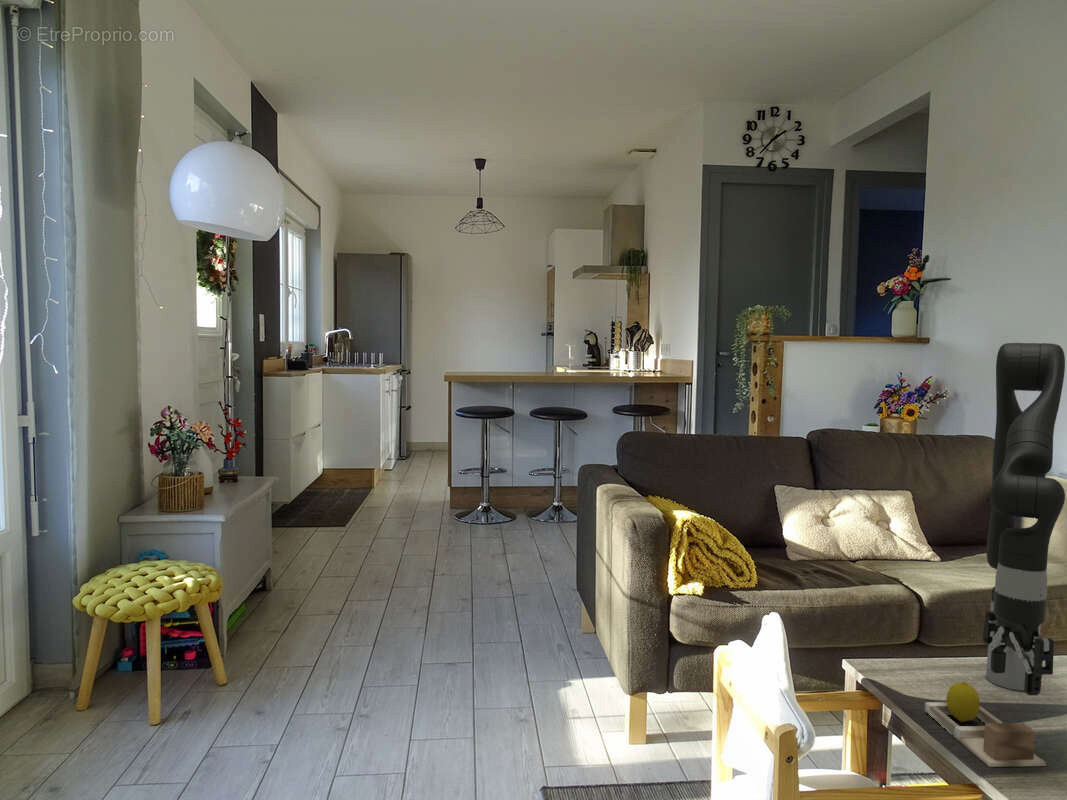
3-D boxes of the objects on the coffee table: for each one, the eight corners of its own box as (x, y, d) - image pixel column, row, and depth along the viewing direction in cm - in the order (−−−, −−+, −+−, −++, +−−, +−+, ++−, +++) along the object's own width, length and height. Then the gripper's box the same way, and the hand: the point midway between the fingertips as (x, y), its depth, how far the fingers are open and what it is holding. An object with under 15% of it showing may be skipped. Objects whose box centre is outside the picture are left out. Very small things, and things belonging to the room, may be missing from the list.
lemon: (982, 731, 144) (985, 689, 144) (950, 727, 145) (953, 686, 145) (972, 717, 150) (974, 677, 149) (941, 713, 151) (943, 674, 150)
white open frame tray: (973, 711, 152) (975, 684, 151) (1045, 765, 132) (1047, 734, 132) (924, 712, 151) (926, 684, 151) (989, 766, 132) (991, 735, 131)
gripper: (1072, 605, 125) (1065, 702, 127) (1013, 578, 139) (1007, 665, 141) (1028, 606, 125) (1021, 703, 126) (973, 578, 139) (967, 665, 140)
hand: (1014, 682), depth 133 cm, fingers open, 8 cm apart
